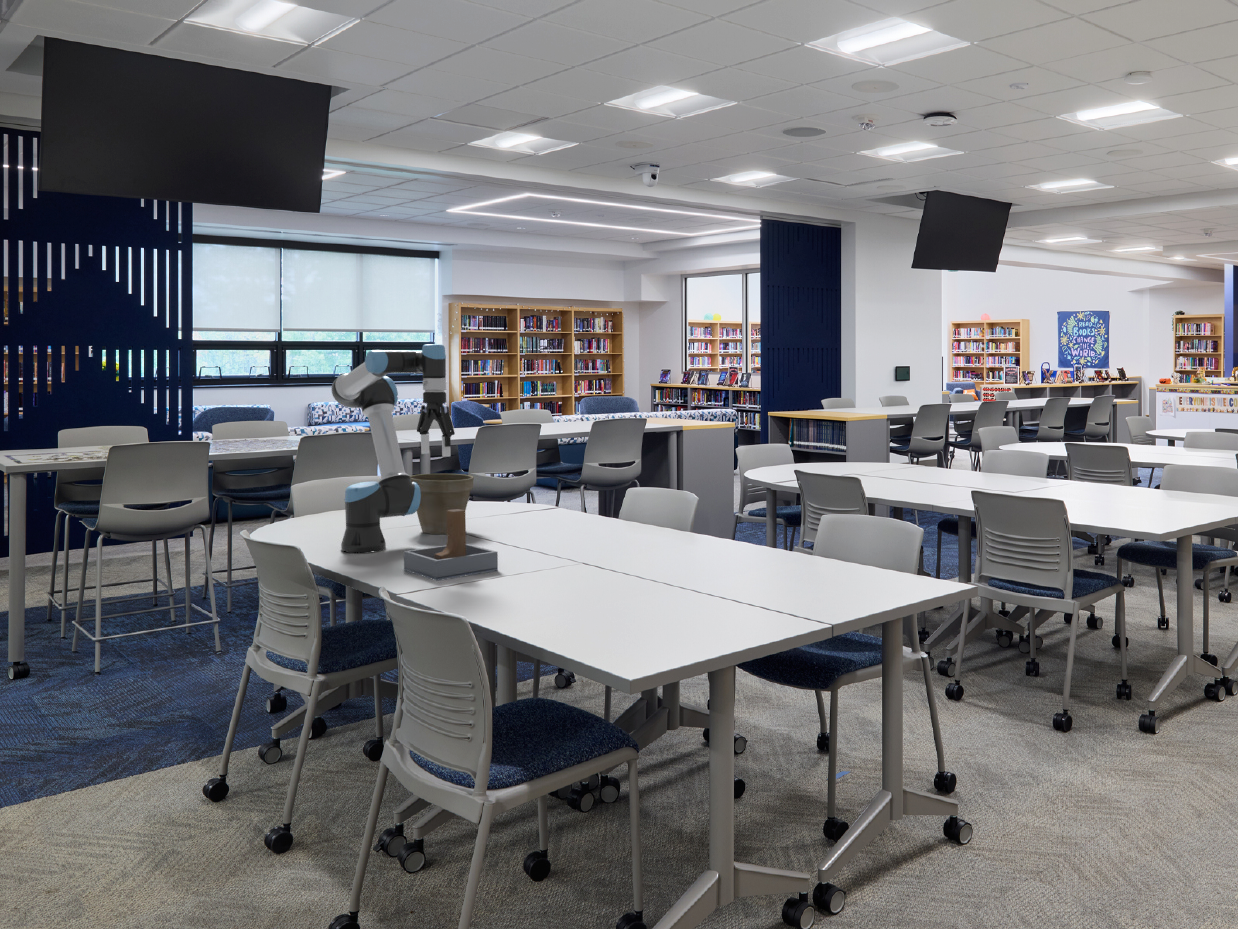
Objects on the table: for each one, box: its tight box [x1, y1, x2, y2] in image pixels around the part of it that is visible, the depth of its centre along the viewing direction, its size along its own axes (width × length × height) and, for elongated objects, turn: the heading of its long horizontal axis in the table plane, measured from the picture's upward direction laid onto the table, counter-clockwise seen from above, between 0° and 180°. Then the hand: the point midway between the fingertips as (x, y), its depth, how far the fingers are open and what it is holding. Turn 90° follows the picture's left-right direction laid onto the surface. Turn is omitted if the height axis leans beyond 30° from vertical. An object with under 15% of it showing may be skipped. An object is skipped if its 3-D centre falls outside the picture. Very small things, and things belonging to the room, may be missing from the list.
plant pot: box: [410, 473, 474, 535], centre depth 372 cm, size 25×25×22 cm
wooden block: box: [435, 509, 467, 560], centre depth 301 cm, size 9×4×18 cm, turn 129°
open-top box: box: [403, 543, 499, 581], centre depth 302 cm, size 20×22×6 cm
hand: (435, 455), depth 318 cm, fingers open, 13 cm apart
